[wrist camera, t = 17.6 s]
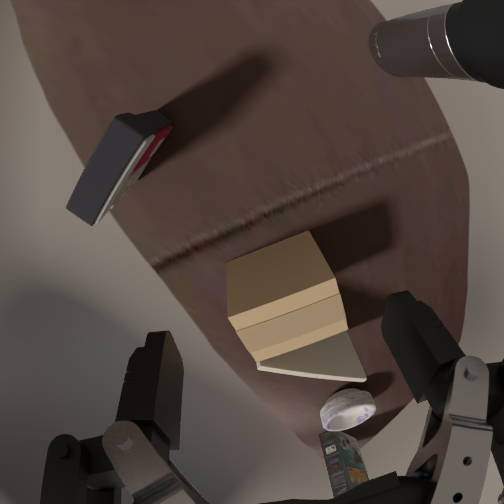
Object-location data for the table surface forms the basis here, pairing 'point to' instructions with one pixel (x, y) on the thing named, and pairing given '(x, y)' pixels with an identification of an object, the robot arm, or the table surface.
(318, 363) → the flap
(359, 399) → the paper bowls
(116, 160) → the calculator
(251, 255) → the carton
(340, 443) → the cake mix box
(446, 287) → the table surface
